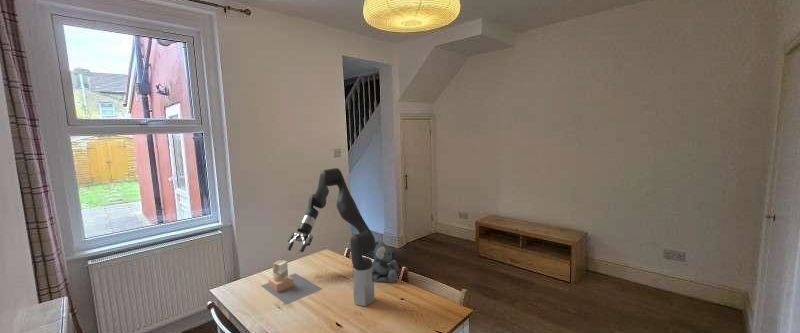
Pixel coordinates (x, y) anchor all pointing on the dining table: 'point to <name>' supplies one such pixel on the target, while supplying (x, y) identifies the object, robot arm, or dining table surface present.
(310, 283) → the building mat
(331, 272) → the dining table surface
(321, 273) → the dining table surface
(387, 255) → the koala plush
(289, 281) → the terracotta brick
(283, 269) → the cream block
